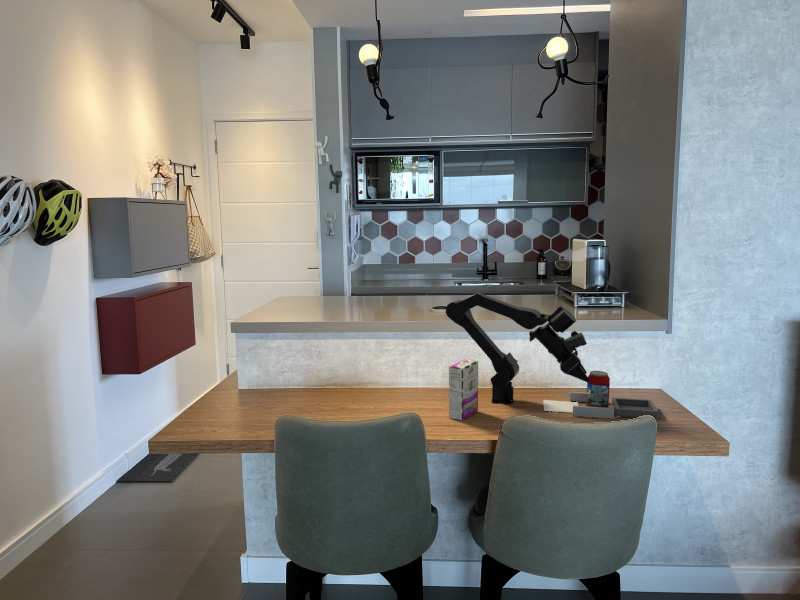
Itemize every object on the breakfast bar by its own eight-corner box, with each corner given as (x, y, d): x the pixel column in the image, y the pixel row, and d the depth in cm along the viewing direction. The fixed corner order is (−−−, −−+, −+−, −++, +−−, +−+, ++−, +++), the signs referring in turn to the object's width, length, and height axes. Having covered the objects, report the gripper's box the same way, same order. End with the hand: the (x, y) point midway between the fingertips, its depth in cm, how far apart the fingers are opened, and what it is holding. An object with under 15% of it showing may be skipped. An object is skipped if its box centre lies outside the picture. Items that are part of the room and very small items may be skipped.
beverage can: (585, 411, 191) (586, 374, 190) (587, 405, 197) (588, 369, 196) (607, 414, 189) (609, 376, 187) (608, 407, 195) (610, 371, 193)
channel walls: (572, 416, 187) (573, 406, 186) (569, 400, 203) (569, 391, 202) (613, 418, 184) (614, 409, 184) (607, 402, 200) (607, 393, 200)
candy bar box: (463, 408, 194) (464, 358, 192) (478, 411, 191) (479, 360, 189) (447, 418, 184) (448, 365, 182) (462, 421, 182) (463, 368, 180)
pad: (544, 411, 191) (544, 410, 191) (543, 401, 202) (543, 399, 202) (580, 413, 189) (580, 412, 189) (577, 403, 199) (577, 402, 199)
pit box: (616, 416, 186) (616, 408, 186) (611, 404, 198) (611, 397, 197) (658, 419, 184) (658, 411, 183) (650, 407, 195) (650, 399, 195)
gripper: (573, 330, 182) (610, 367, 181) (569, 319, 200) (603, 353, 199) (545, 354, 185) (582, 391, 184) (544, 342, 203) (577, 376, 202)
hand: (587, 377), depth 192 cm, fingers open, 9 cm apart
